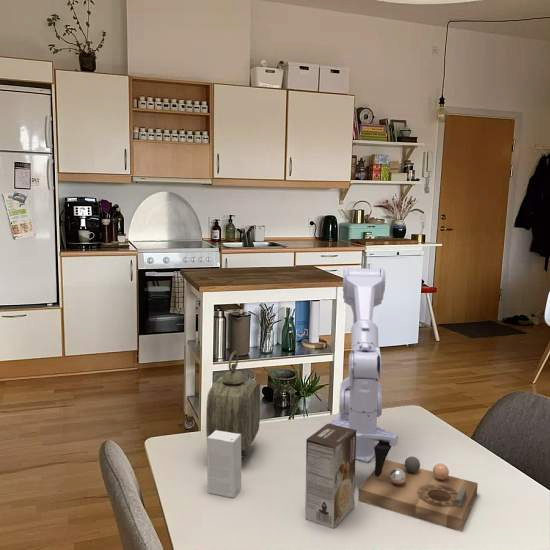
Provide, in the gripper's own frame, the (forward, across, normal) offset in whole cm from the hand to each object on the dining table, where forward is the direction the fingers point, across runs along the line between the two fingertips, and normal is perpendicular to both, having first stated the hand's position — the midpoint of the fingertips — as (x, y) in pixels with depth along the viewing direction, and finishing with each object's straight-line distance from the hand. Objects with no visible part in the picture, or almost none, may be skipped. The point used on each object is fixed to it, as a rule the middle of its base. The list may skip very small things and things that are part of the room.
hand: (361, 469), depth 118 cm
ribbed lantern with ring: (+4, -30, -3) cm, 30 cm away
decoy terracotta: (-1, +15, +7) cm, 16 cm away
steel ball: (-1, +8, 0) cm, 8 cm away
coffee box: (+4, -1, -13) cm, 14 cm away
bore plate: (+3, +12, +2) cm, 12 cm away
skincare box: (+4, -23, -17) cm, 29 cm away
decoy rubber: (-1, +9, +7) cm, 11 cm away
